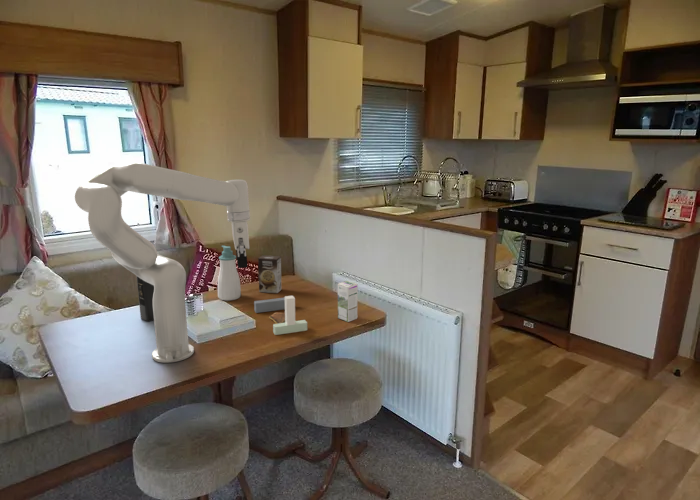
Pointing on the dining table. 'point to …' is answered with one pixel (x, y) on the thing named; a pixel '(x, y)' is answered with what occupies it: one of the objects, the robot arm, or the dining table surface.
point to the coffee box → (269, 274)
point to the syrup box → (347, 301)
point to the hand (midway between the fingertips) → (242, 263)
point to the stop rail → (269, 305)
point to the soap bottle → (228, 276)
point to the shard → (278, 317)
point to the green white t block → (289, 319)
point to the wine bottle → (145, 299)
